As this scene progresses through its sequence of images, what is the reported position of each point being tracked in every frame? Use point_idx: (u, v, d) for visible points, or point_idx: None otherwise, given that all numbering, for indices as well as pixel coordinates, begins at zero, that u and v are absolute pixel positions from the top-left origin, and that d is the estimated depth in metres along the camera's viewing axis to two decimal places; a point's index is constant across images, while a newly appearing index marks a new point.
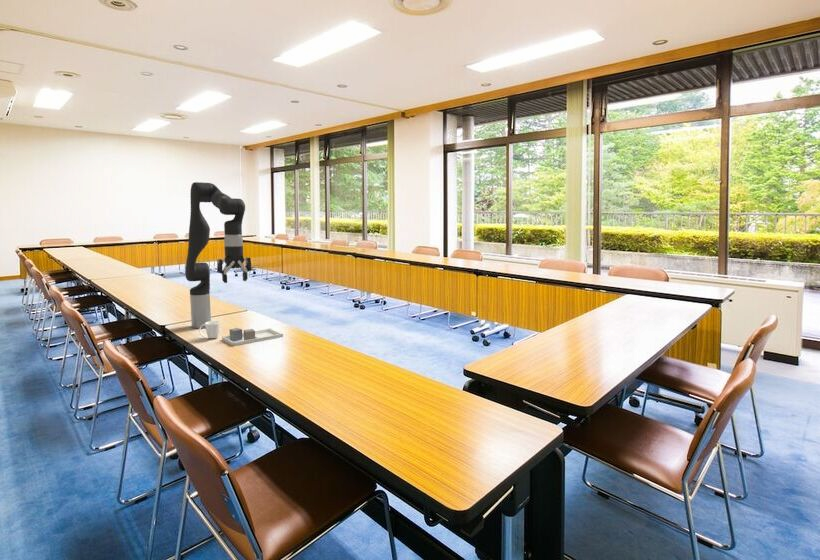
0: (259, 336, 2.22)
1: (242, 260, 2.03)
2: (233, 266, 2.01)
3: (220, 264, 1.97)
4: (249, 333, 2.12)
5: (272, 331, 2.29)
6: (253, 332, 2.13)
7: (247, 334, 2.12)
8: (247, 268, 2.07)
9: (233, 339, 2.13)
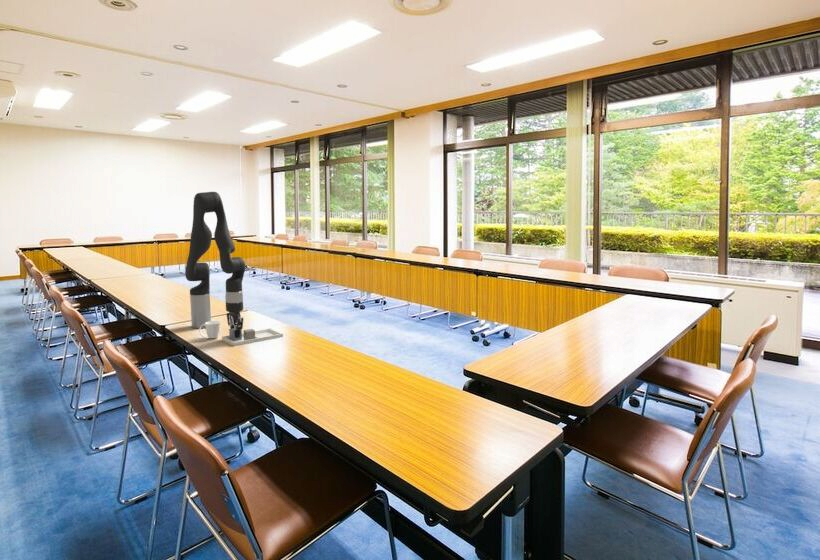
0: (259, 336, 2.22)
1: None
2: None
3: None
4: (249, 333, 2.12)
5: (272, 331, 2.29)
6: (253, 332, 2.13)
7: (247, 334, 2.12)
8: None
9: (232, 339, 2.14)
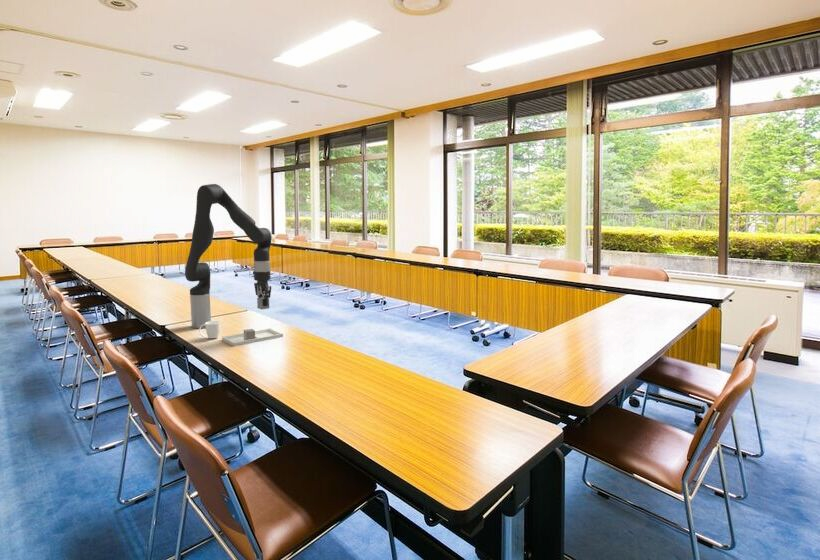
0: (259, 336, 2.22)
1: None
2: None
3: None
4: (249, 333, 2.12)
5: (272, 331, 2.29)
6: (253, 332, 2.13)
7: (247, 334, 2.12)
8: None
9: (260, 307, 2.21)
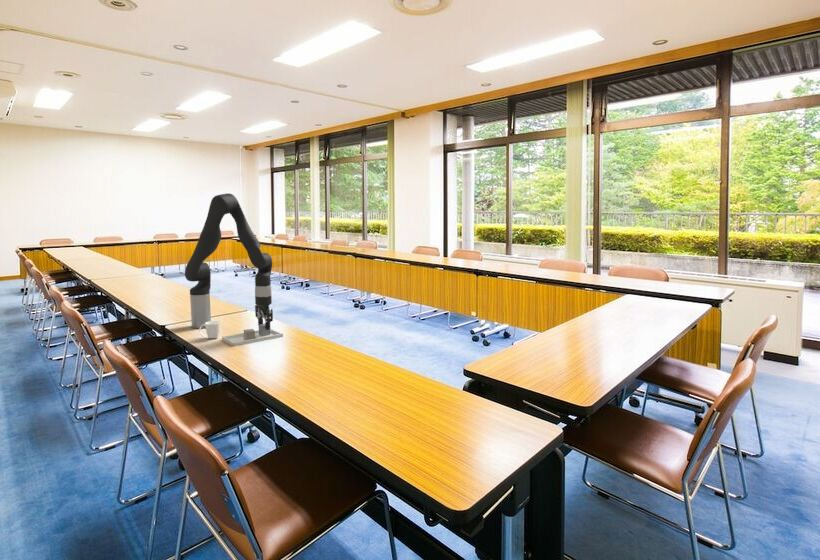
0: (259, 336, 2.22)
1: None
2: None
3: None
4: (249, 333, 2.12)
5: (272, 331, 2.29)
6: (253, 332, 2.13)
7: (247, 334, 2.12)
8: None
9: (261, 334, 2.23)
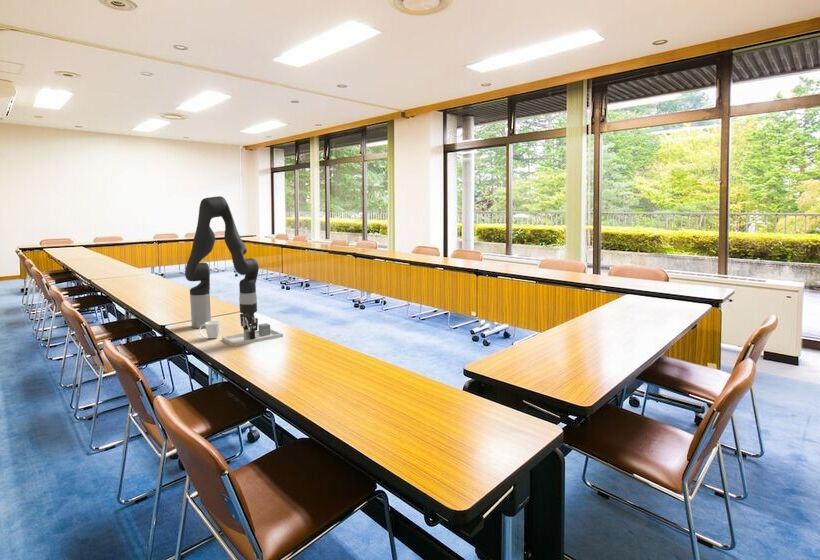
0: (259, 336, 2.22)
1: None
2: None
3: None
4: (249, 333, 2.12)
5: (272, 331, 2.29)
6: None
7: (247, 334, 2.12)
8: None
9: (261, 334, 2.23)
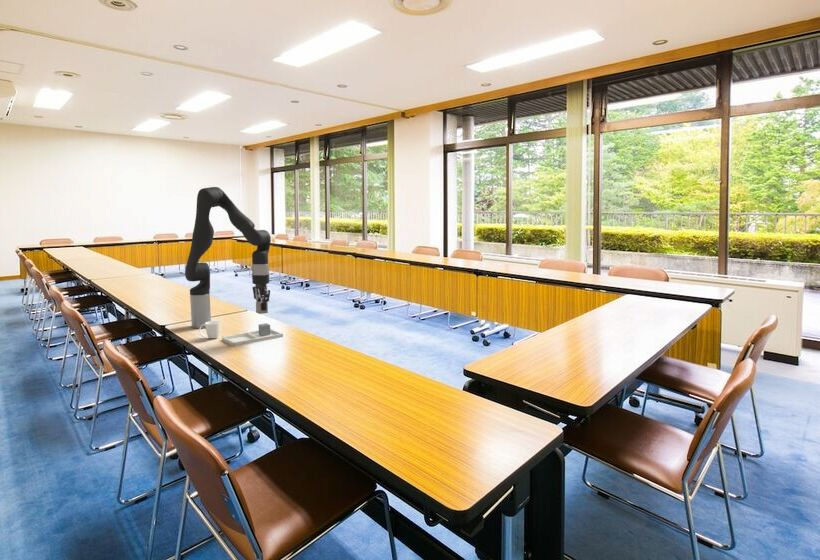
0: (259, 336, 2.22)
1: None
2: None
3: None
4: None
5: (272, 331, 2.29)
6: (266, 304, 2.16)
7: (260, 305, 2.14)
8: None
9: (261, 334, 2.23)
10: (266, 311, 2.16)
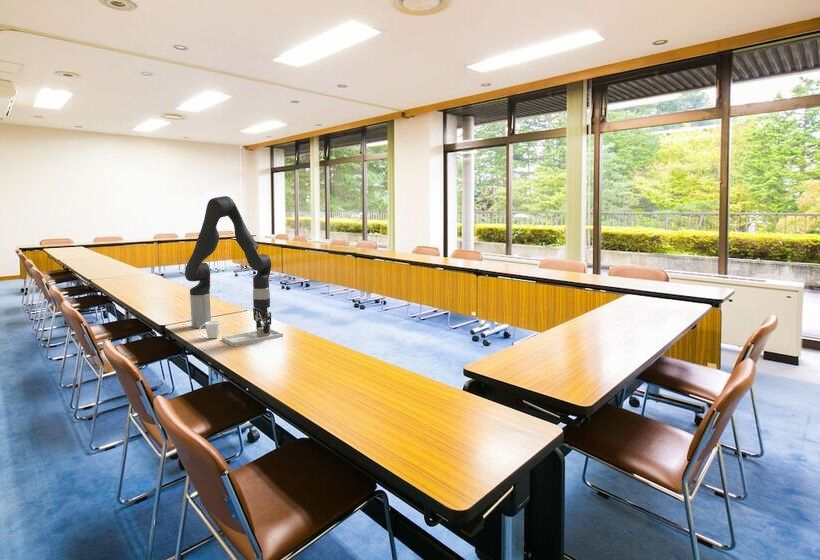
0: None
1: None
2: None
3: None
4: (263, 331, 2.17)
5: (272, 331, 2.29)
6: None
7: (261, 332, 2.16)
8: None
9: None
10: None
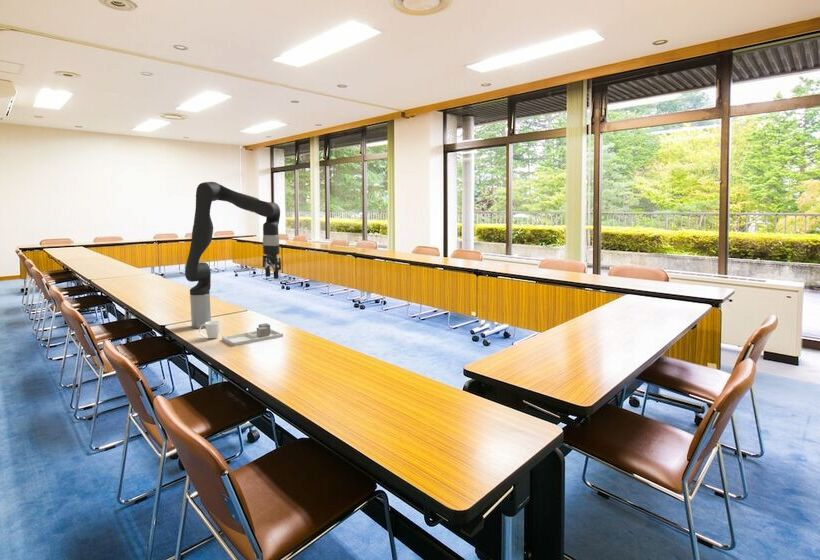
0: None
1: None
2: None
3: None
4: (263, 331, 2.17)
5: (272, 331, 2.29)
6: (267, 329, 2.18)
7: (261, 332, 2.16)
8: None
9: None
10: None
